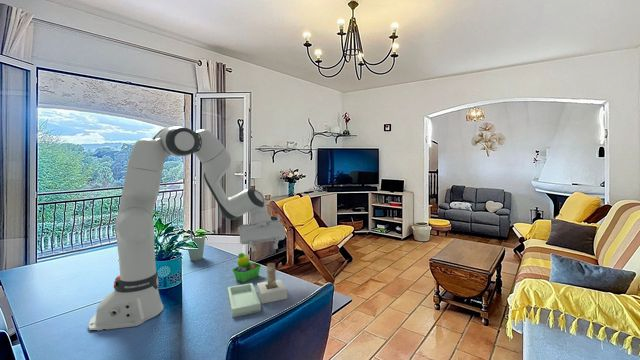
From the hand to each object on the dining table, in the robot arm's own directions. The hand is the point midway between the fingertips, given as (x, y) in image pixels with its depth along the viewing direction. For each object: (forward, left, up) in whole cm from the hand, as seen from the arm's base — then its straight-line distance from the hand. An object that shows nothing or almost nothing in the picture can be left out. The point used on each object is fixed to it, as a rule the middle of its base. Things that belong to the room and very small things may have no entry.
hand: (265, 249), depth 129 cm
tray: (-12, -12, -16) cm, 23 cm away
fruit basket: (-7, +12, -16) cm, 21 cm away
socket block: (0, -11, -16) cm, 19 cm away
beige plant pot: (-29, +49, -16) cm, 59 cm away
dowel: (0, -11, -16) cm, 19 cm away
